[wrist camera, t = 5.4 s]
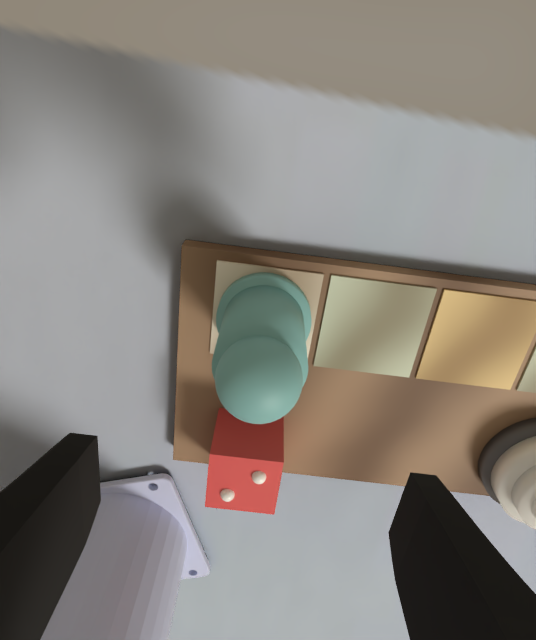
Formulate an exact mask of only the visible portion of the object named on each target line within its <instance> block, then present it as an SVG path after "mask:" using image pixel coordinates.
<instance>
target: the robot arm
mask: <svg viewBox="0 0 536 640" xmlns="http://www.w3.org/2000/svg"><path fill="white" fill-rule="evenodd" d="M152 483H154V484H157V485H154V484H152ZM389 539H390V547H391V555H392V562H393V569H394V576H395V581H396V585H397V589H398V593H399V597H400V601H401V605H402V609H403V613H404V617H405V621H406V625H407V629H408V633H409V637H410V640H536V594H535V593H534V592H533V591H532V590H531V589H530V587H529V586H528V585H527V584H526V583H525V582H524V581H523V580H522V579H521V577H520V576H519V575H518V574H517V573H516V572H515V571H514V569H513V568H512V567H511V566H510V565H509V564H508V562H507V561H506V560H505V559H504V558H503V557H502V555H501V554H500V553H499V552H498V551H497V549H496V548H495V547H494V546H493V545H492V544H491V542H490V541H489V540H488V539H487V537H486V536H485V535H484V534H483V533H482V531H481V530H480V529H479V528H478V526H477V525H476V524H475V523H474V521H473V520H472V519H471V518H470V517H469V515H468V514H467V513H466V512H465V510H464V509H463V508H462V507H461V505H460V504H459V503H458V501H457V500H456V499H455V498H454V496H453V495H452V494H451V493H450V491H449V490H448V489H447V488H446V486H445V485H444V484H443V483H442V482H441V480H440V479H439V478H438V477H437V475H429V474H421V473H412V472H410V475H409V477H408V480H407V483H406V486H405V489H404V491H403V494H402V497H401V500H400V503H399V505H398V508H397V511H396V514H395V516H394V519H393V522H392V525H391V528H390V530H389ZM209 573H210V564H209V561H208V559H207V557H206V554H205V552H204V550H203V548H202V545H201V543H200V541H199V538H198V536H197V534H196V531H195V529H194V527H193V524H192V522H191V520H190V518H189V515H188V513H187V511H186V508H185V506H184V504H183V501H182V499H181V497H180V494H179V492H178V490H177V488H176V485H175V483H174V481H173V479H172V477H171V476H169V475H168V474H165V473H161V474H154V475H147V476H141V477H134V478H128V479H121V480H115V481H108V482H102V483H100V475H99V457H98V440H97V436H93V435H84V434H76V433H70V434H68V435H67V436H65V437H64V438H63V439H62V440H61V441H60V442H58V443H57V444H56V445H55V446H54V447H53V448H51V449H50V450H49V451H48V452H47V453H46V454H45V455H43V456H42V457H41V458H40V459H39V460H38V461H37V462H35V463H34V464H33V465H32V466H31V467H30V468H28V469H27V470H26V471H25V472H24V473H23V474H21V475H20V476H19V477H18V478H17V479H15V480H14V481H13V482H12V483H11V484H9V485H8V486H7V487H6V488H5V489H3V490H2V491H1V492H0V640H168V638H169V633H170V628H171V624H172V619H173V614H174V609H175V604H176V600H177V595H178V590H179V585H180V581H181V579H188V578H196V577H204V576H207V575H208V574H209Z"/></svg>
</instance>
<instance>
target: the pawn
mask: <svg viewBox="0 0 536 640" xmlns="http://www.w3.org/2000/svg"><path fill="white" fill-rule="evenodd" d="M216 326H217V330H218V333H219V335H218V339H217V343H216V347H215V350H214V354H213V358H212V374H213V377H214V380H215V387H216V392H217V395H218V397H219V400H220V401H221V403H222V405H223V406H224V407H225V409H226V410H227V411H228V412H229V413H230V414H232V415H233V416H234V417H236V418H237V419H239V420H241V421H244V422H247V423H252V424H266V423H271V422H274V421H276V420H278V419H280V418H282V417H283V416H285V415H286V414H287V413H288V412H289V411H290V410H291V409H292V408H293V407H294V406H295V404H296V403H297V401H298V399H299V397H300V394H301V391H302V387H303V386H304V384H305V382H306V379H307V375H308V358H307V347H306V340H307V338H308V336H309V333H310V330H311V311H310V306H309V302H308V300H307V297H306V296H305V294H304V292H303V291H302V290H301V289H300V287H299V286H298V285H296V284H295V283H294V282H293V281H291V280H290V279H288V278H286V277H284V276H281V275H279V274H274V273H268V272H259V273H252V274H249V275H246V276H243V277H241V278H239V279H238V280H236V281H235V282H233V283H232V284H231V285H230V286H229V287H228V288H227V289H226V291H225V292H224V294H223V295H222V297H221V300H220V302H219V306H218V309H217V314H216Z"/></svg>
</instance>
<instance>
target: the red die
mask: <svg viewBox="0 0 536 640" xmlns="http://www.w3.org/2000/svg"><path fill="white" fill-rule="evenodd" d="M283 464H284V416H283V417H282V418H280V419H278V420H276V421H274V422H271V423H266V424H252V423H247V422H244V421H241V420H239V419H237V418H236V417H234V416H233V415H232V414H230V413H229V412H228V411H227V410H226V409H225V408H219V410H218V415H217V420H216V425H215V430H214V435H213V440H212V445H211V450H210V455H209V467H208V478H207V490H206V501H205V507H212V508H221V509H230V510H239V511H248V512H257V513H266V514H274V513H275V507H276V502H277V496H278V491H279V486H280V480H281V475H282V470H283Z"/></svg>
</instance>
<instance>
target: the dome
mask: <svg viewBox="0 0 536 640" xmlns="http://www.w3.org/2000/svg"><path fill="white" fill-rule="evenodd" d="M491 486H492V488H493V491H494V493H495V494H496V496H497V498H498V500H499V502H500V504H501V506H502V508H503V509H504V511H505V512H506V513H507V514H508V515H509V516H511V517H512V518H514V519H515V520H518V521H520V522H523V523H525V524H527V525H528V526H529V527H531V528H533V529H535V530H536V436H534V437H531V438H527V439H525V440H523V441H520V442H519V443H517V444H515V445H513V446H512V447H510V448H509V449H508V450H507V451H505V452H504V453H503V454H502V455H501V456H500V457H499V459H498V460H497V461H496V463H495V465H494V466H493V469H492V472H491Z"/></svg>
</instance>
